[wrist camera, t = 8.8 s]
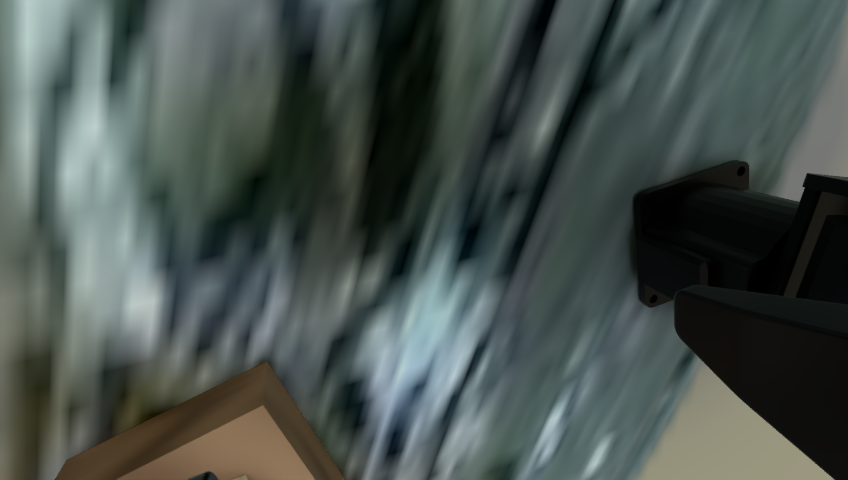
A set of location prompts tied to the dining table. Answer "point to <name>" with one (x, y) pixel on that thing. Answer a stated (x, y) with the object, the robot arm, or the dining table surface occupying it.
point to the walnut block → (215, 439)
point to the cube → (242, 478)
